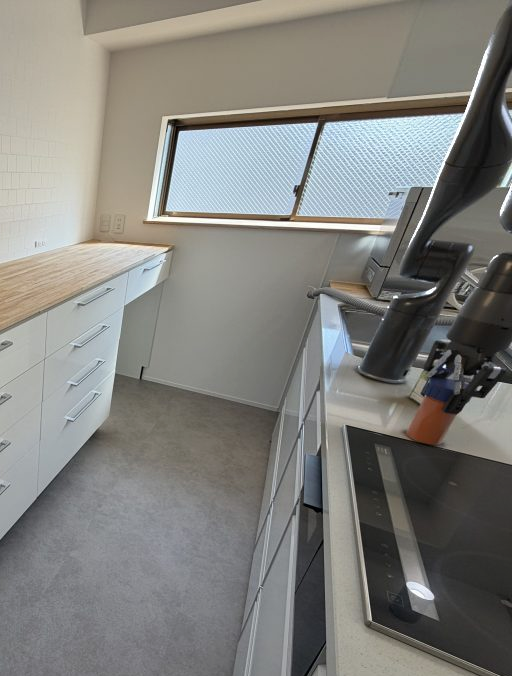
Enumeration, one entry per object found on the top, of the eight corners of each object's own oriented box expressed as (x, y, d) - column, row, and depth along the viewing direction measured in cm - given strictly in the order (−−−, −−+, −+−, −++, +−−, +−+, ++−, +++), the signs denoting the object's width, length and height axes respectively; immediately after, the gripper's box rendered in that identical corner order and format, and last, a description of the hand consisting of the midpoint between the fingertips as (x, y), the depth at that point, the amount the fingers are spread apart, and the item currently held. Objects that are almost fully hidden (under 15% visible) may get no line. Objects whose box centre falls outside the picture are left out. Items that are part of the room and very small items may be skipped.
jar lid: (477, 403, 73) (485, 390, 72) (448, 405, 73) (455, 392, 72) (441, 388, 79) (447, 376, 78) (413, 390, 78) (419, 378, 77)
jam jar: (399, 430, 82) (423, 381, 77) (426, 431, 82) (452, 381, 77) (419, 444, 78) (446, 393, 73) (448, 445, 77) (477, 394, 72)
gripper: (435, 304, 76) (392, 385, 84) (495, 327, 64) (438, 420, 71) (485, 309, 74) (437, 391, 82) (556, 333, 62) (492, 428, 69)
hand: (438, 404), depth 77 cm, fingers closed on jar lid, 5 cm apart
